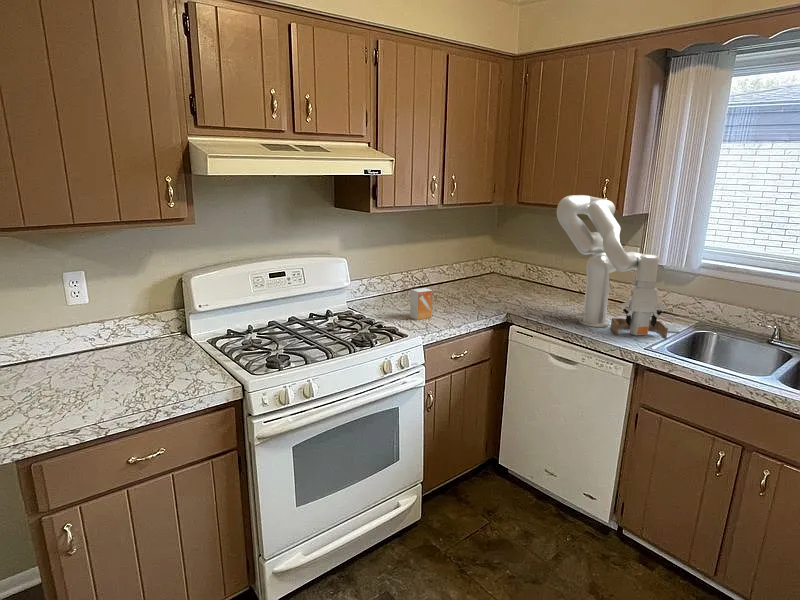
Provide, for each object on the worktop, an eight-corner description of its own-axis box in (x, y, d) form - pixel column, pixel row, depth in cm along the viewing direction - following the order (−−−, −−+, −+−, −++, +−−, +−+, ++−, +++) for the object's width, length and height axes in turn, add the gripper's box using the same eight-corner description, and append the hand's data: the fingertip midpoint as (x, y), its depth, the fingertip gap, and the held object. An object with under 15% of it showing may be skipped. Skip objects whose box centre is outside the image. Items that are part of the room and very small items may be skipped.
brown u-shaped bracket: (616, 335, 217) (617, 324, 216) (610, 327, 227) (611, 317, 226) (666, 338, 214) (668, 327, 213) (658, 330, 224) (659, 320, 223)
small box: (417, 320, 233) (418, 292, 230) (409, 317, 239) (410, 289, 235) (432, 317, 238) (433, 290, 235) (423, 314, 243) (424, 287, 240)
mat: (655, 331, 223) (655, 330, 223) (648, 325, 232) (648, 323, 232) (680, 333, 221) (680, 331, 221) (672, 326, 231) (672, 325, 231)
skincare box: (635, 335, 217) (639, 308, 214) (629, 332, 220) (632, 305, 218) (648, 335, 218) (652, 307, 215) (641, 332, 222) (644, 304, 219)
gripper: (625, 285, 212) (620, 326, 216) (670, 287, 209) (665, 328, 213) (621, 282, 219) (616, 321, 223) (665, 283, 216) (659, 323, 220)
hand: (640, 324), depth 218 cm, fingers open, 9 cm apart
